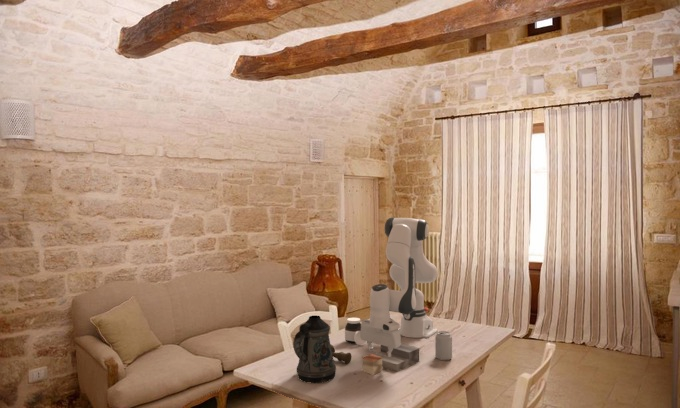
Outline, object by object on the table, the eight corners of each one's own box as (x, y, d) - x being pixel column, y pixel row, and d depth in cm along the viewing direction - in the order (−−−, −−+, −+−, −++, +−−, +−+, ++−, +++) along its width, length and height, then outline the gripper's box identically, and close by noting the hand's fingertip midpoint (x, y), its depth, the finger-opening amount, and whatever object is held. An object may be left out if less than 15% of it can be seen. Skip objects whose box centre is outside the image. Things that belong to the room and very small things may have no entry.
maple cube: (362, 357, 204) (362, 371, 205) (373, 360, 200) (373, 374, 200) (371, 354, 209) (371, 367, 209) (382, 357, 205) (382, 371, 205)
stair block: (391, 353, 227) (391, 340, 227) (419, 361, 216) (419, 348, 216) (368, 362, 215) (368, 349, 215) (396, 371, 204) (396, 357, 204)
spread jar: (351, 338, 252) (351, 316, 251) (371, 340, 247) (370, 318, 246) (341, 344, 241) (341, 321, 240) (361, 347, 236) (361, 324, 236)
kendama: (343, 368, 210) (307, 358, 221) (354, 362, 218) (319, 353, 229) (343, 354, 210) (307, 345, 221) (355, 349, 218) (320, 340, 229)
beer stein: (340, 370, 205) (339, 312, 205) (328, 388, 187) (328, 324, 186) (303, 367, 209) (303, 310, 209) (288, 384, 190) (288, 322, 190)
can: (441, 354, 225) (441, 329, 225) (455, 358, 220) (455, 332, 220) (432, 358, 220) (432, 332, 220) (446, 362, 215) (446, 335, 214)
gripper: (357, 319, 213) (357, 350, 213) (394, 328, 199) (394, 361, 199) (366, 316, 217) (366, 347, 218) (402, 325, 203) (403, 357, 203)
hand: (379, 353), depth 208 cm, fingers open, 8 cm apart
